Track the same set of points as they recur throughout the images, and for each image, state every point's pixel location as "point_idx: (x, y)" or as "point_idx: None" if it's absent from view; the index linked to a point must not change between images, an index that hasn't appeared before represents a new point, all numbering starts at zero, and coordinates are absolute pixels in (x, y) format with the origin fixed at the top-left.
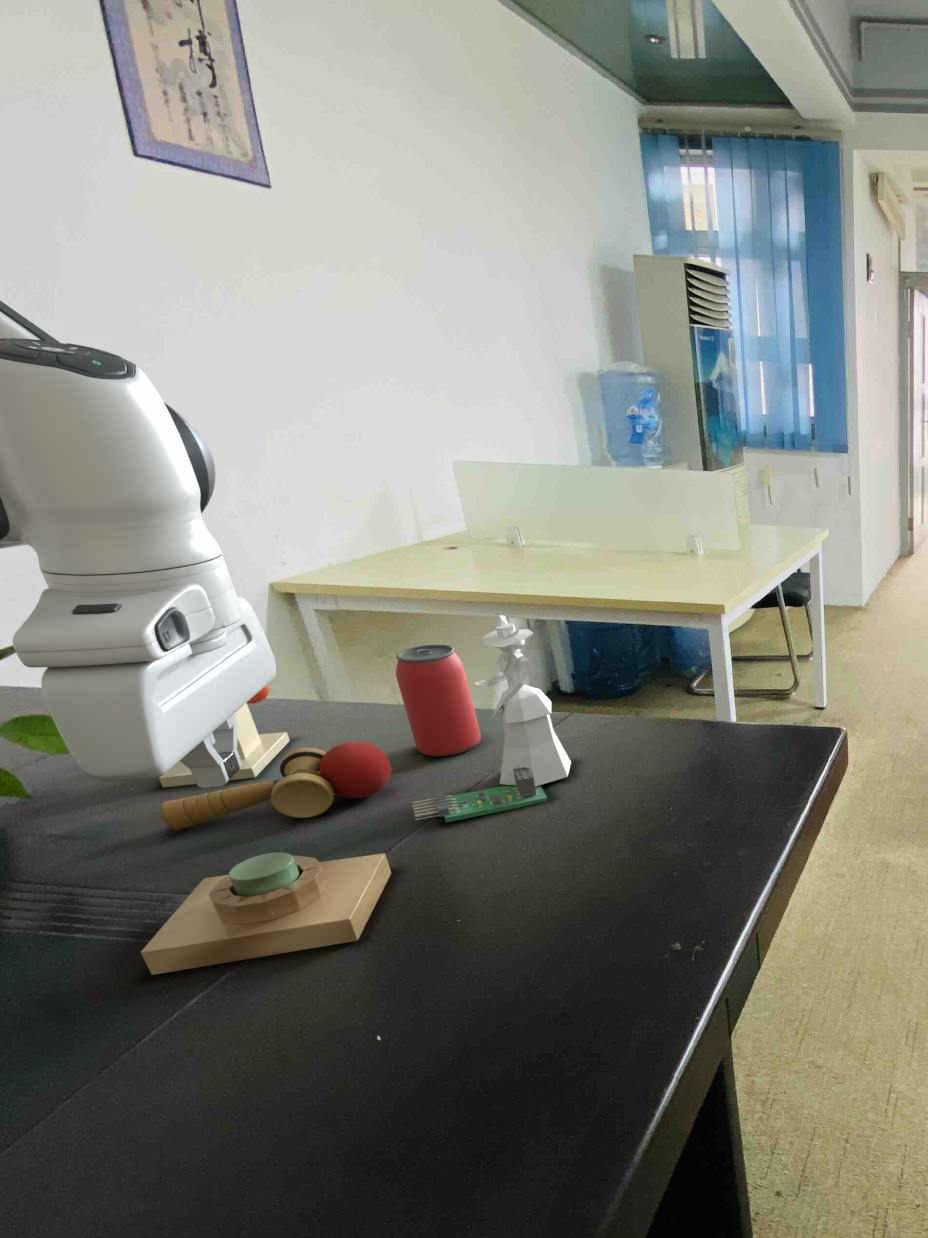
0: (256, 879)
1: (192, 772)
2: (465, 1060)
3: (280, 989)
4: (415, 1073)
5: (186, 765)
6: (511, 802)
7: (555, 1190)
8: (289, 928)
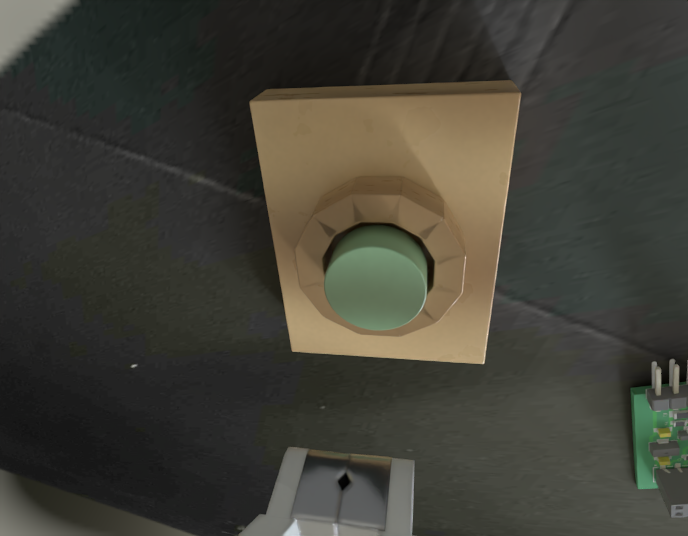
0: (325, 294)
1: (275, 494)
2: (109, 418)
3: (213, 269)
4: (93, 392)
5: (247, 528)
6: (647, 458)
7: (11, 455)
8: (282, 292)
